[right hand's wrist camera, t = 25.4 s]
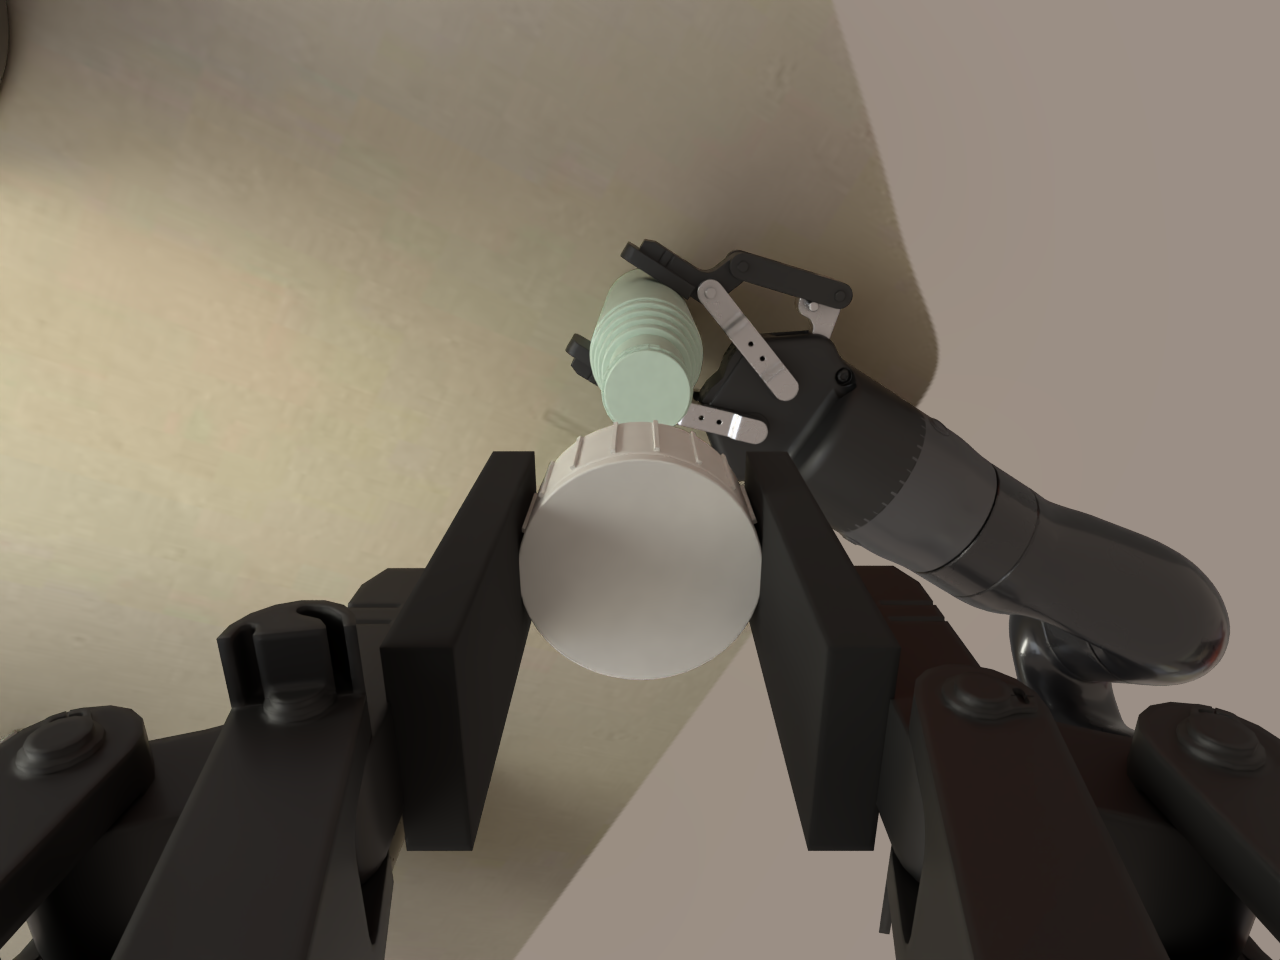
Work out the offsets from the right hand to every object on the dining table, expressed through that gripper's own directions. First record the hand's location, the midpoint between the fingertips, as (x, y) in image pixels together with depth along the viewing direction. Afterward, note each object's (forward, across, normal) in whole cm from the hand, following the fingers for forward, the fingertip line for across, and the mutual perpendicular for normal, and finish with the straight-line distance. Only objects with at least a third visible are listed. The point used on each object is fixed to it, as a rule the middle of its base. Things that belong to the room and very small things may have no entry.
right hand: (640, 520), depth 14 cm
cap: (-2, 0, 0) cm, 2 cm away
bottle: (+31, 0, 0) cm, 31 cm away
